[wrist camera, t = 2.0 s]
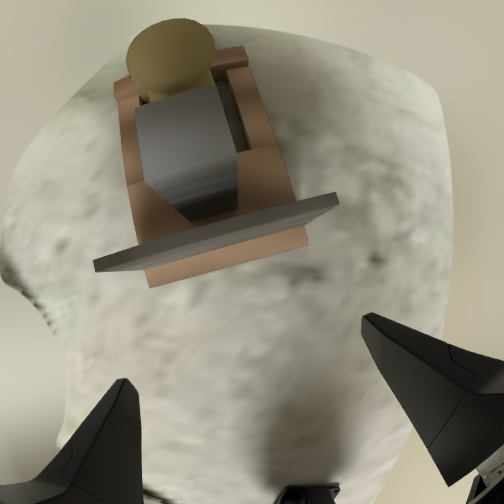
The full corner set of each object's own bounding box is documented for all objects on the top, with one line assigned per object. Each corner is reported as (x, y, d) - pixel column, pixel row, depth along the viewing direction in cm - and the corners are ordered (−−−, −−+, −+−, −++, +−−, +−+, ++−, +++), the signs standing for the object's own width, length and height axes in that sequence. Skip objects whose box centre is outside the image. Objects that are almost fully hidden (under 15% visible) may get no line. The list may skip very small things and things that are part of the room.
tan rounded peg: (176, 91, 21) (148, 5, 10) (237, 106, 21) (238, 12, 10) (147, 145, 21) (91, 70, 10) (211, 164, 21) (189, 81, 10)
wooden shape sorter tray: (304, 245, 21) (373, 225, 10) (154, 287, 20) (74, 308, 9) (242, 60, 21) (245, -31, 10) (121, 94, 21) (73, 18, 9)
